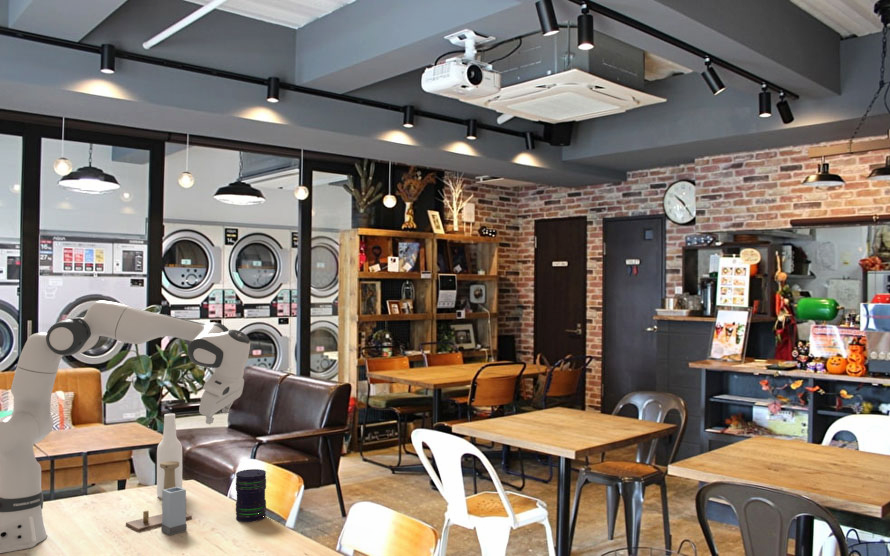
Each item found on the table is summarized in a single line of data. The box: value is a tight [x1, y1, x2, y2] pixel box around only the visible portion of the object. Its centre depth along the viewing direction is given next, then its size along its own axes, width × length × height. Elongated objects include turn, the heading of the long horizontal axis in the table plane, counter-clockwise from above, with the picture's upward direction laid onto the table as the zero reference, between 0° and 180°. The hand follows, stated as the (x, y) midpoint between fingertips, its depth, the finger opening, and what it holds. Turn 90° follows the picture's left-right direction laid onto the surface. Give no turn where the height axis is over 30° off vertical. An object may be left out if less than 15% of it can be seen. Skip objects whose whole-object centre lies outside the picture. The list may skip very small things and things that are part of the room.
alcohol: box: [156, 413, 183, 499], centre depth 273 cm, size 9×9×30 cm
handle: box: [160, 461, 179, 489], centre depth 260 cm, size 5×6×15 cm
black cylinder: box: [235, 468, 267, 523], centre depth 246 cm, size 10×10×15 cm
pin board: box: [125, 510, 193, 533], centre depth 242 cm, size 18×9×4 cm, turn 137°
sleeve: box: [160, 487, 188, 536], centre depth 233 cm, size 6×6×13 cm
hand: (217, 417), depth 236 cm, fingers open, 8 cm apart
